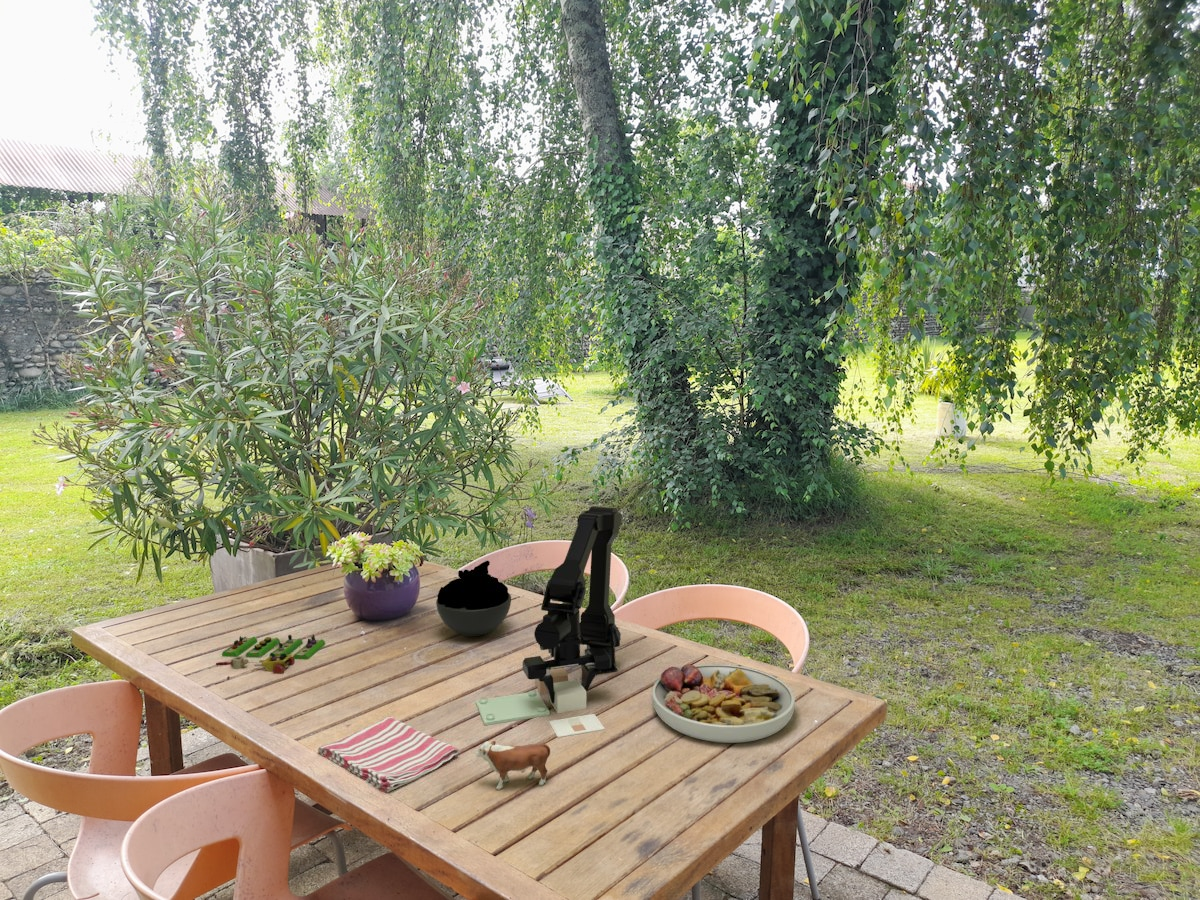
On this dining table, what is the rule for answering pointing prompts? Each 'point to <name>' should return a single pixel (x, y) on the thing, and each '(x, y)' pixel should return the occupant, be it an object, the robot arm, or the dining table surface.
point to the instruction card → (576, 725)
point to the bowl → (722, 702)
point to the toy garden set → (277, 658)
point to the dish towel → (388, 753)
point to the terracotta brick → (557, 675)
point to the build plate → (511, 708)
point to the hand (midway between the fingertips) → (567, 700)
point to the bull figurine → (515, 759)
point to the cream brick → (569, 696)
